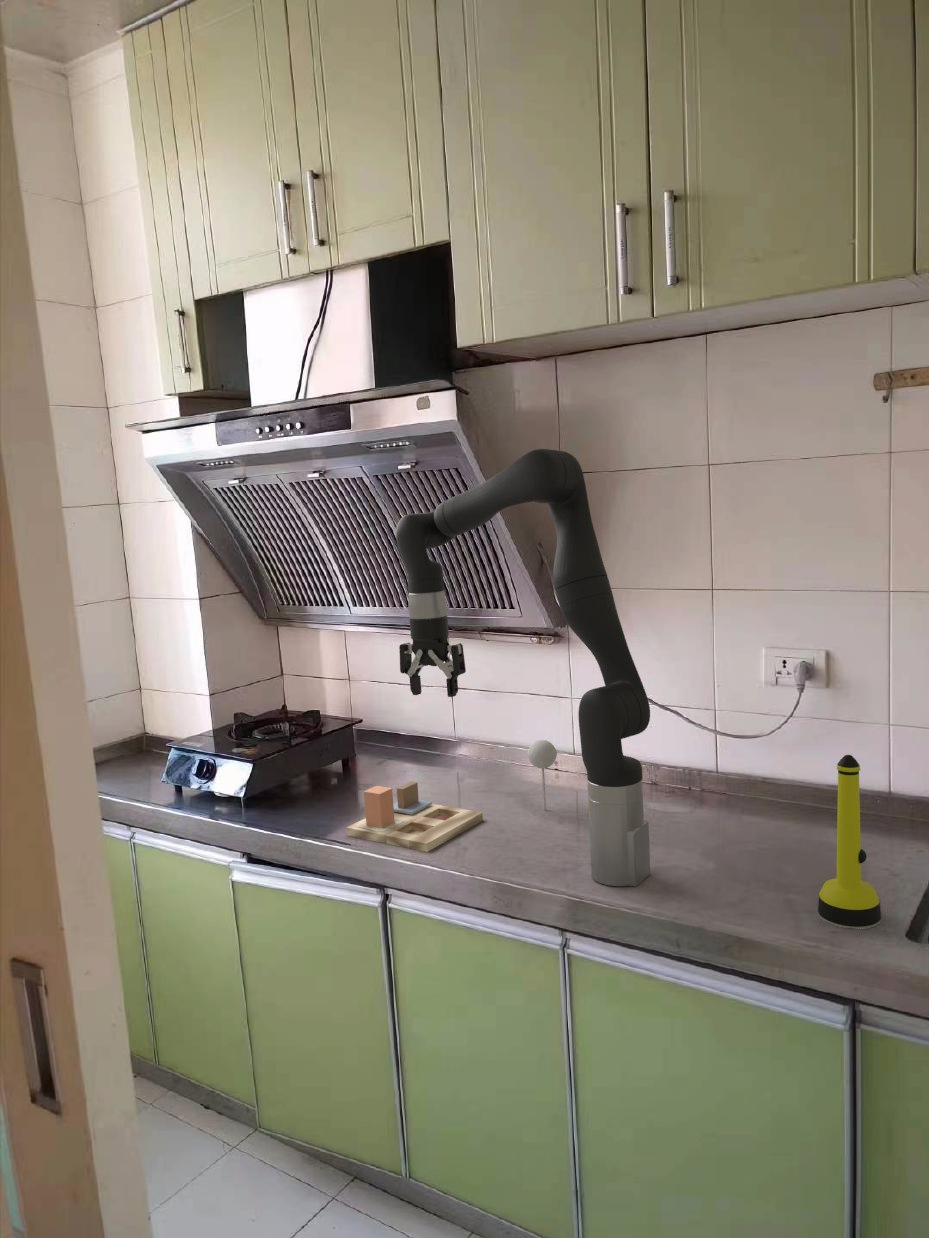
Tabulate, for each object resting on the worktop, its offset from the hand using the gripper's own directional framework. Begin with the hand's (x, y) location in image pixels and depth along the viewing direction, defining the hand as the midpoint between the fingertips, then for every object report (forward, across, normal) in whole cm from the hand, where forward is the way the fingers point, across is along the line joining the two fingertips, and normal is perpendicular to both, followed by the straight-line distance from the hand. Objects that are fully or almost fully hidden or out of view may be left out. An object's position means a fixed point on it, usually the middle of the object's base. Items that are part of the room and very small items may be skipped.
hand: (434, 695), depth 187 cm
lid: (+24, +10, -1) cm, 26 cm away
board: (+27, +4, +4) cm, 28 cm away
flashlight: (+29, -78, +7) cm, 84 cm away
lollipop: (+27, -14, -17) cm, 35 cm away
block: (+25, +10, +8) cm, 28 cm away
